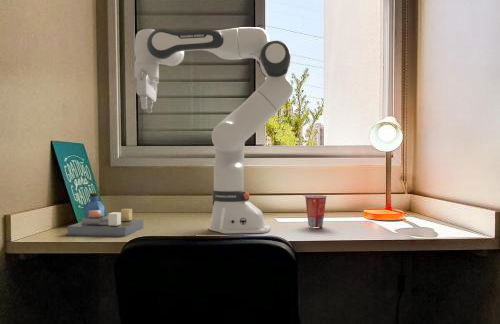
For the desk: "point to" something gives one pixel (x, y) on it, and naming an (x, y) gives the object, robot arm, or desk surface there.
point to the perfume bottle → (94, 205)
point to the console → (104, 227)
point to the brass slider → (126, 214)
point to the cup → (315, 209)
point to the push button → (95, 214)
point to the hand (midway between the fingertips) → (146, 110)
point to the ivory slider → (114, 218)
